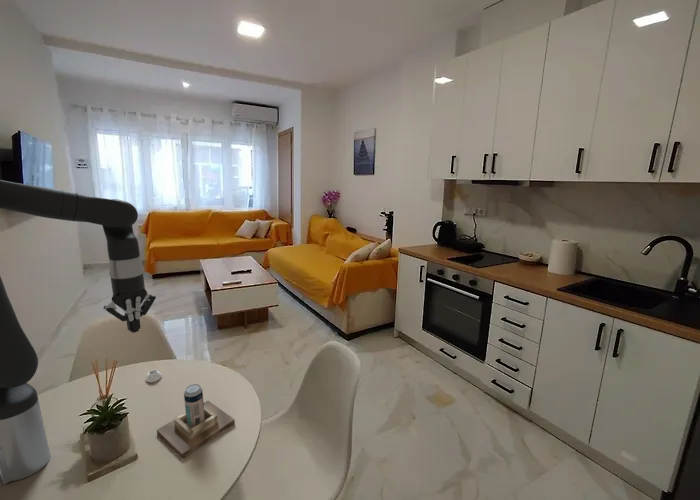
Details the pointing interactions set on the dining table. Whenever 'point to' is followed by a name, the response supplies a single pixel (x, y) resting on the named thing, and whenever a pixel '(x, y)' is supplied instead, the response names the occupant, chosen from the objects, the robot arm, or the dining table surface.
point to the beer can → (194, 405)
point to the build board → (195, 430)
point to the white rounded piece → (153, 376)
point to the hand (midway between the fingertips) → (134, 331)
